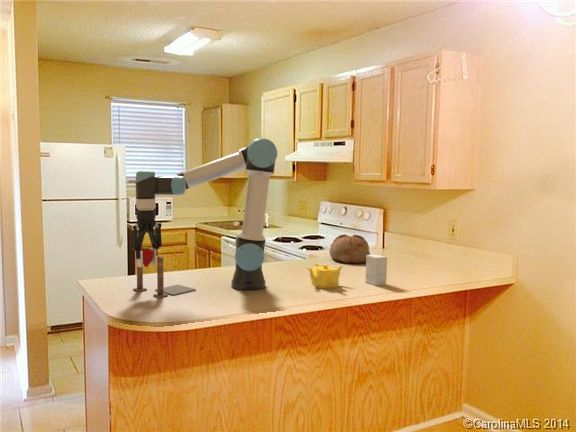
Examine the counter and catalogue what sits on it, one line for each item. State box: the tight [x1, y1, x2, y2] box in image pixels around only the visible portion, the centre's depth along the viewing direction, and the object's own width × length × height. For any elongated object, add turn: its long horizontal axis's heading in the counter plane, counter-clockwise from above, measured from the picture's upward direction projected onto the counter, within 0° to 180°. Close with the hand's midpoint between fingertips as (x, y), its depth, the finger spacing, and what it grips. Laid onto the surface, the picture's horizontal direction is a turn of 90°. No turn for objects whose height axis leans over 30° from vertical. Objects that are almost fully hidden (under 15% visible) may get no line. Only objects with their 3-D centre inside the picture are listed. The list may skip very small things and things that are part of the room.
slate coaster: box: [154, 284, 197, 296], centre depth 212 cm, size 12×12×1 cm
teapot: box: [306, 262, 344, 290], centre depth 226 cm, size 15×14×10 cm
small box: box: [365, 254, 388, 287], centre depth 233 cm, size 8×6×13 cm
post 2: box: [152, 256, 169, 299], centre depth 202 cm, size 4×4×16 cm
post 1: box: [132, 266, 148, 293], centre depth 210 cm, size 4×4×16 cm
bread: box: [329, 234, 371, 264], centre depth 291 cm, size 26×23×15 cm
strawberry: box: [141, 246, 154, 268], centre depth 204 cm, size 6×8×10 cm
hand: (147, 265), depth 204 cm, fingers closed on strawberry, 6 cm apart
